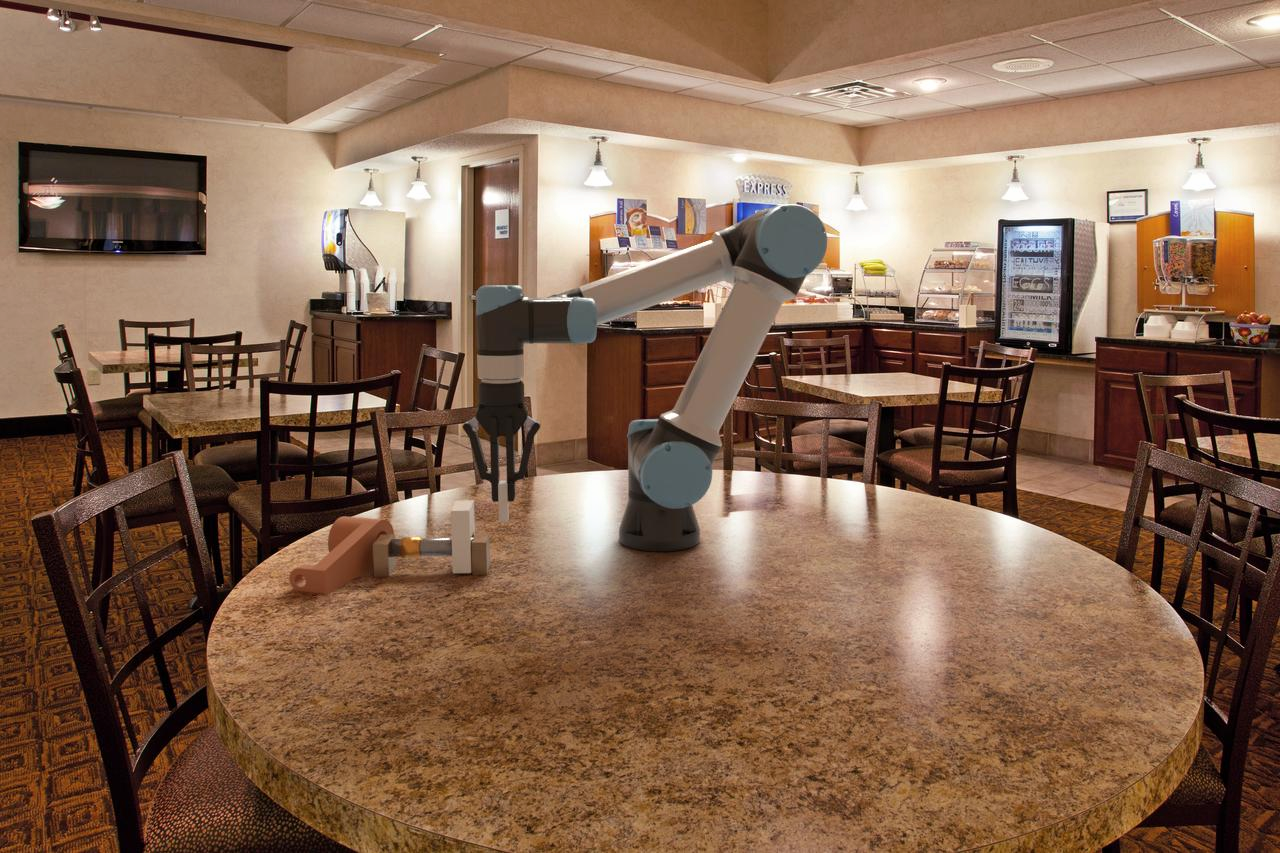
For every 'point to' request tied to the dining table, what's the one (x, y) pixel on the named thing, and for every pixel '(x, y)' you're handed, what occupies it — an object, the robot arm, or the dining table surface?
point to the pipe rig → (426, 551)
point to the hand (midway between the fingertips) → (504, 520)
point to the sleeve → (462, 535)
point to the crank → (342, 555)
